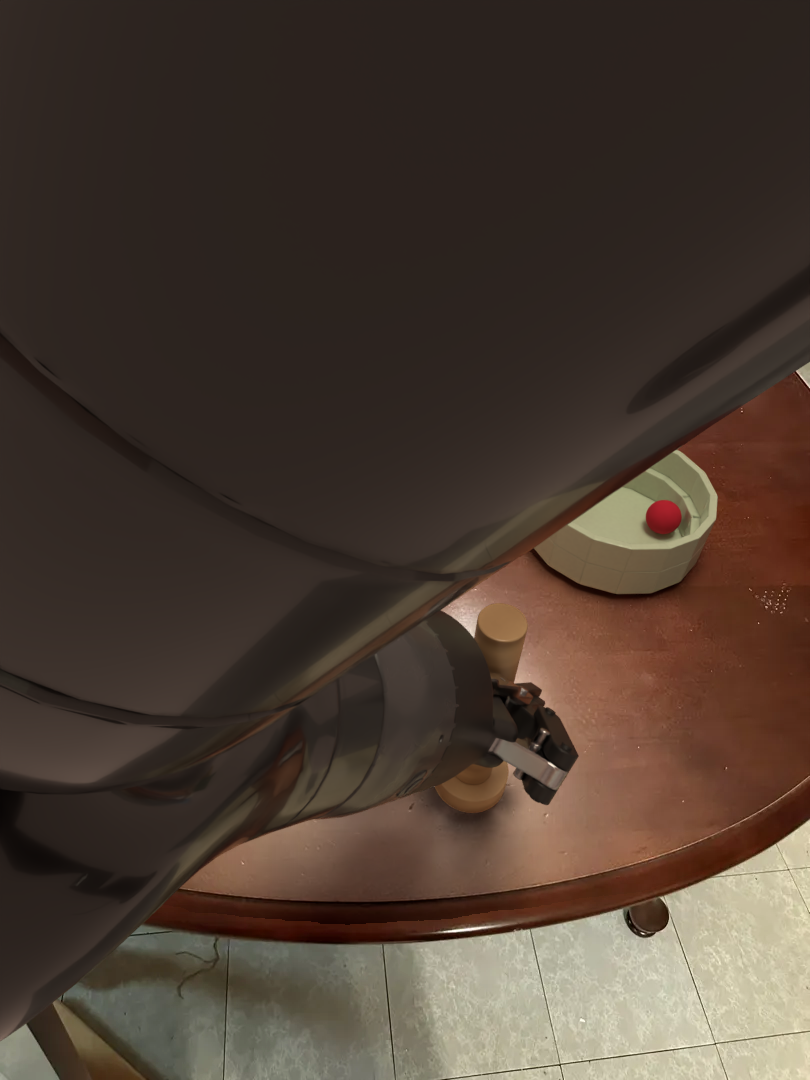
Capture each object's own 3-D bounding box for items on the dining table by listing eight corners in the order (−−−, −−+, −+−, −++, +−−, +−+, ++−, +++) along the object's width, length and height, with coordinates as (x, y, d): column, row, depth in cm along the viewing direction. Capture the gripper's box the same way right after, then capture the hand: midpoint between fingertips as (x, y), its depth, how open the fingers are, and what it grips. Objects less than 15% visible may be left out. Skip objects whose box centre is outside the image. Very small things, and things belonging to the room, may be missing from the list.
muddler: (519, 777, 48) (567, 619, 37) (476, 828, 45) (514, 675, 35) (462, 734, 50) (492, 573, 39) (418, 781, 47) (437, 623, 37)
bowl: (723, 533, 66) (747, 483, 62) (642, 629, 58) (663, 579, 54) (580, 458, 72) (593, 409, 69) (488, 536, 64) (498, 485, 61)
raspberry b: (681, 529, 65) (692, 504, 63) (666, 546, 64) (676, 521, 62) (651, 513, 67) (660, 488, 65) (635, 529, 65) (644, 504, 63)
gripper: (574, 724, 25) (653, 701, 40) (273, 517, 31) (442, 566, 46) (455, 918, 26) (577, 822, 41) (184, 678, 32) (380, 674, 47)
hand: (505, 686), depth 44 cm, fingers closed on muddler, 2 cm apart
